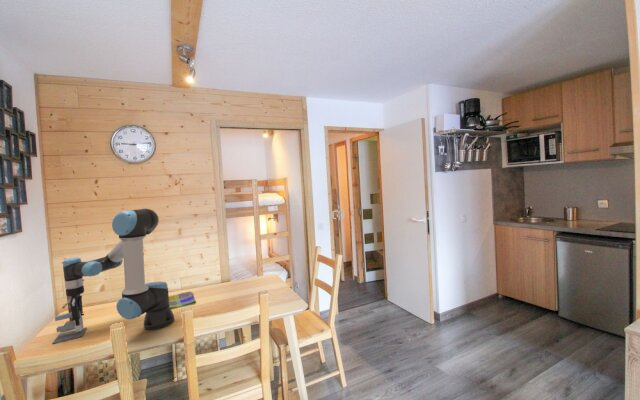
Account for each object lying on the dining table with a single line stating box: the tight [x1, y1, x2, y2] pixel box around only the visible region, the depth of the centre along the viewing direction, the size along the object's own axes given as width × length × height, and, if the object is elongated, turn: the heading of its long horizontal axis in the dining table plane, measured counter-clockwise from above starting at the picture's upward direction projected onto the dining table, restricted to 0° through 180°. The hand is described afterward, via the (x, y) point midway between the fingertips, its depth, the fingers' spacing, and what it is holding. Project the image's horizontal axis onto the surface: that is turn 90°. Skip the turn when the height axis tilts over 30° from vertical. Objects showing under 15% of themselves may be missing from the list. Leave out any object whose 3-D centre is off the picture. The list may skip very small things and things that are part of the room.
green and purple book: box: [169, 291, 197, 311], centre depth 198 cm, size 18×24×3 cm
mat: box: [52, 327, 88, 345], centre depth 158 cm, size 12×12×1 cm
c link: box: [54, 312, 82, 333], centre depth 158 cm, size 10×2×8 cm, turn 118°
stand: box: [60, 296, 75, 333], centre depth 169 cm, size 18×7×18 cm, turn 28°
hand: (79, 329), depth 160 cm, fingers closed on c link, 2 cm apart
